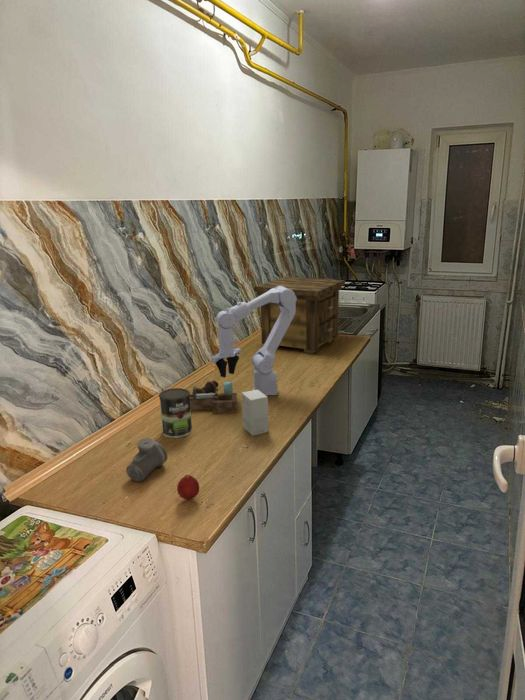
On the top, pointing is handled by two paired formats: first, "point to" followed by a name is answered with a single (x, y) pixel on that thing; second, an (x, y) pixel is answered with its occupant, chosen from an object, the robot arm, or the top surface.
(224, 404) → the mount
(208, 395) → the lock bar
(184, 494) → the onion
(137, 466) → the pipe fitting
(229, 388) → the dowel
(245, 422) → the small box
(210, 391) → the bolt
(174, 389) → the coffee can
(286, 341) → the crate
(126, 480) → the top surface
